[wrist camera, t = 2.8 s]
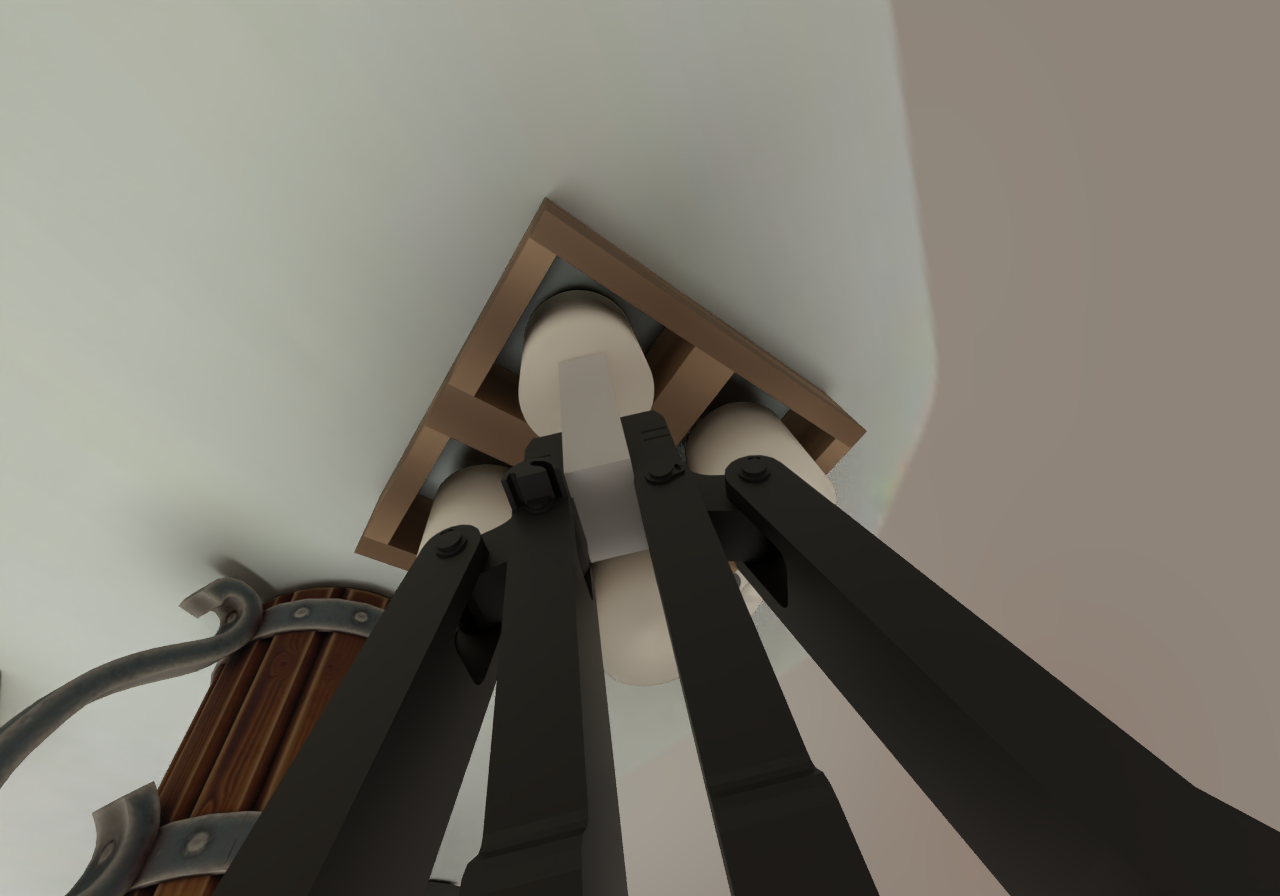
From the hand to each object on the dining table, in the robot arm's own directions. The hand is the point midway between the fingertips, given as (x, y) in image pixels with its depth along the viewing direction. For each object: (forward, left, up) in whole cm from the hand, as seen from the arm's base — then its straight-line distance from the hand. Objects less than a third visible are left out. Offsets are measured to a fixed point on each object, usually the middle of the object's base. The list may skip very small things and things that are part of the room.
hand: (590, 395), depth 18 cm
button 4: (-1, -8, -3) cm, 9 cm away
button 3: (0, 0, -5) cm, 5 cm away
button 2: (-9, -7, -3) cm, 12 cm away
